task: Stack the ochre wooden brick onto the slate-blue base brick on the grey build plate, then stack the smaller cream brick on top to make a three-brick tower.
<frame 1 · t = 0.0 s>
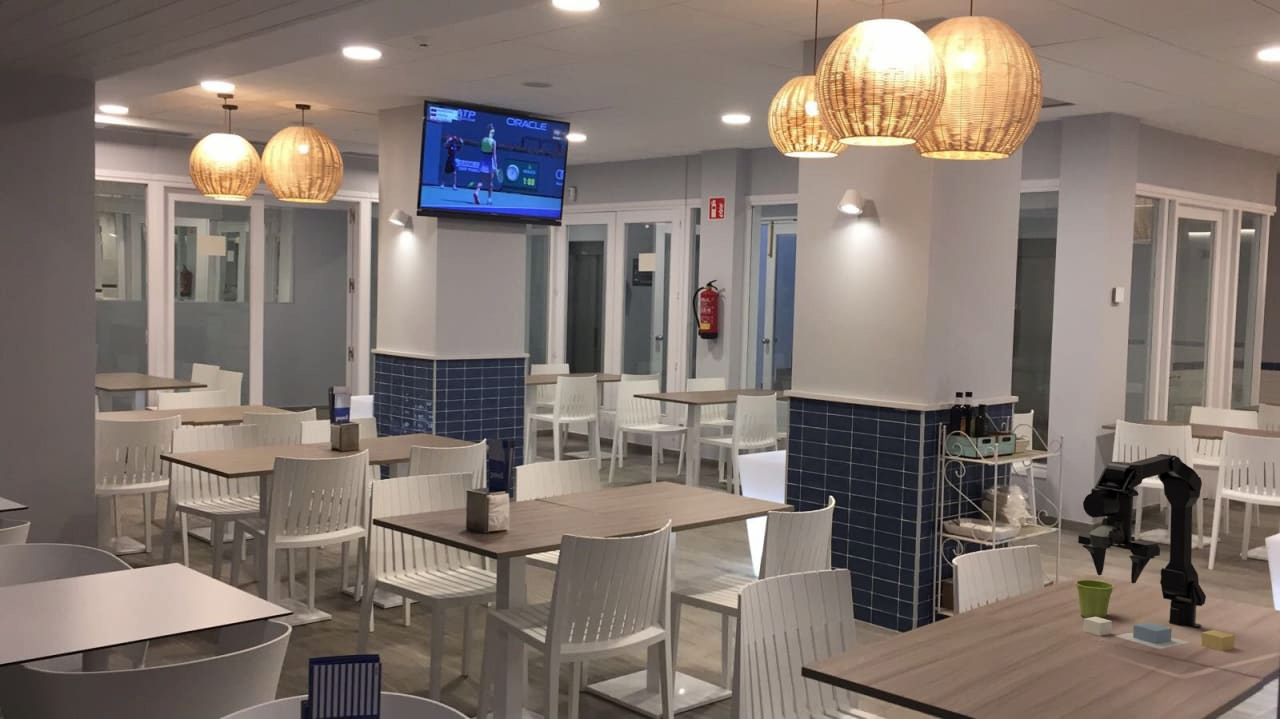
hand: (1116, 579, 275), 15 cm above the table, tool pointing down, fingers open, 9 cm apart
brick cream: (1097, 636, 278), on the table
build plate: (1151, 642, 274), on the table
plant pot: (1093, 617, 297), on the table
base brick: (1152, 639, 274), point 1 cm above the table, touching build plate
brick ochre: (1217, 650, 269), on the table
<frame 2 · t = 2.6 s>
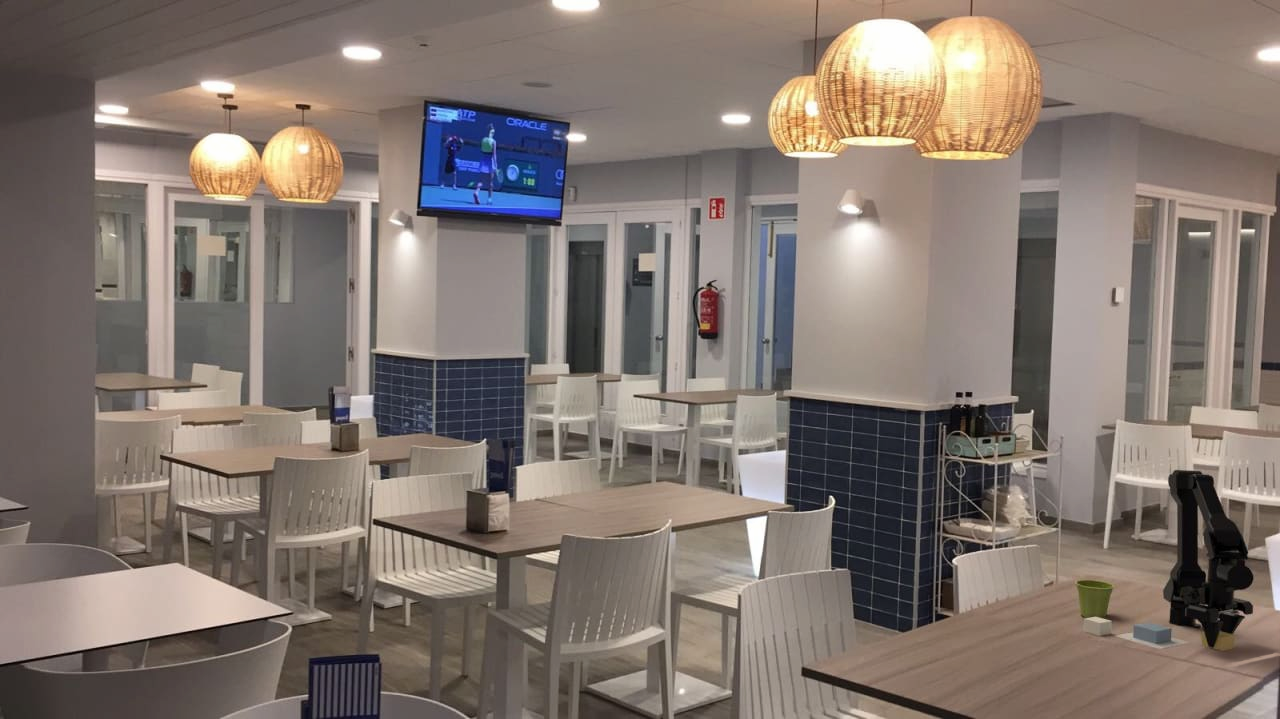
hand: (1217, 645, 269), 1 cm above the table, tool pointing down, fingers closed on brick ochre, 5 cm apart
brick ochre: (1217, 650, 269), on the table, touching gripper
everything else where it was.
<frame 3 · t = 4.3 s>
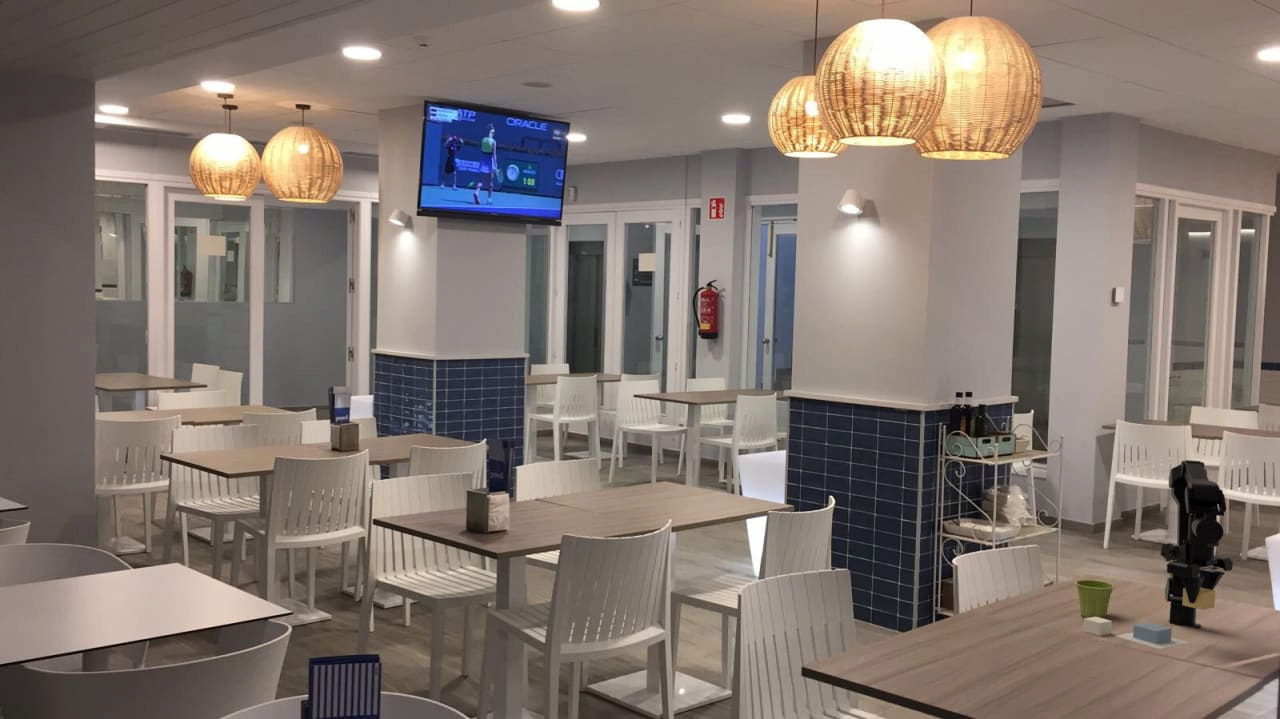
hand: (1198, 601, 270), 11 cm above the table, tool pointing down, fingers closed on brick ochre, 5 cm apart
brick ochre: (1198, 606, 270), point 10 cm above the table, touching gripper
everything else where it was.
when the fingers open (6 cm above the table, at t = 6.0 s): brick ochre drops 1 cm, resting on base brick.
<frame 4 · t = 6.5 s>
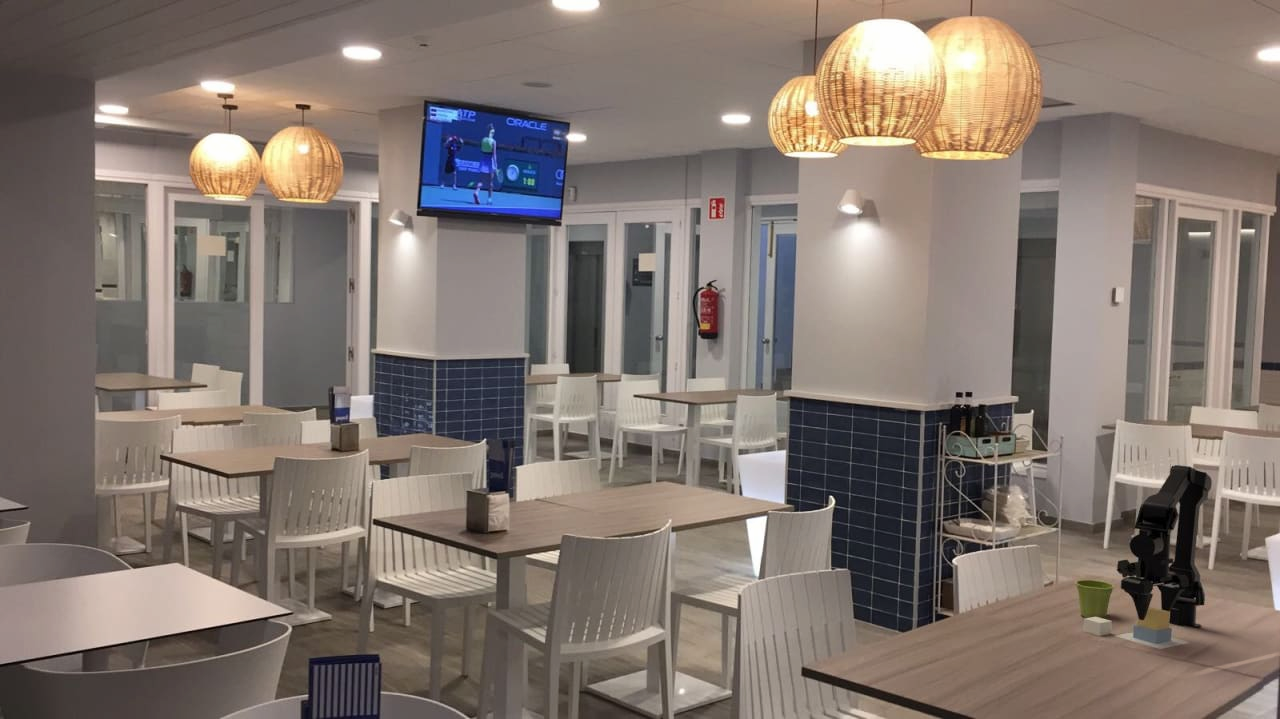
hand: (1153, 617, 274), 6 cm above the table, tool pointing down, fingers open, 9 cm apart
base brick: (1152, 639, 274), point 1 cm above the table, touching brick ochre, build plate
brick ochre: (1153, 626, 274), point 4 cm above the table, touching base brick
everything else where it was.
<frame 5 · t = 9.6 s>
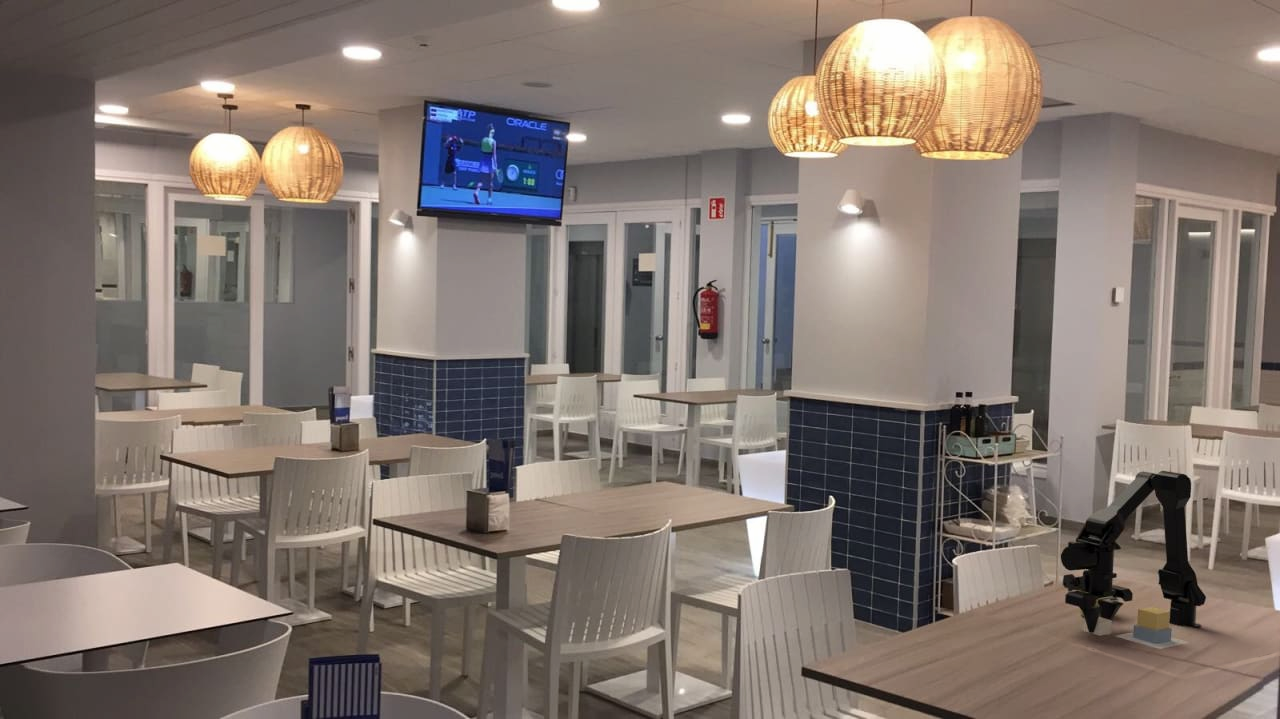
hand: (1097, 631, 278), 1 cm above the table, tool pointing down, fingers closed on brick cream, 4 cm apart
brick cream: (1097, 635, 278), on the table, touching gripper
everything else where it was.
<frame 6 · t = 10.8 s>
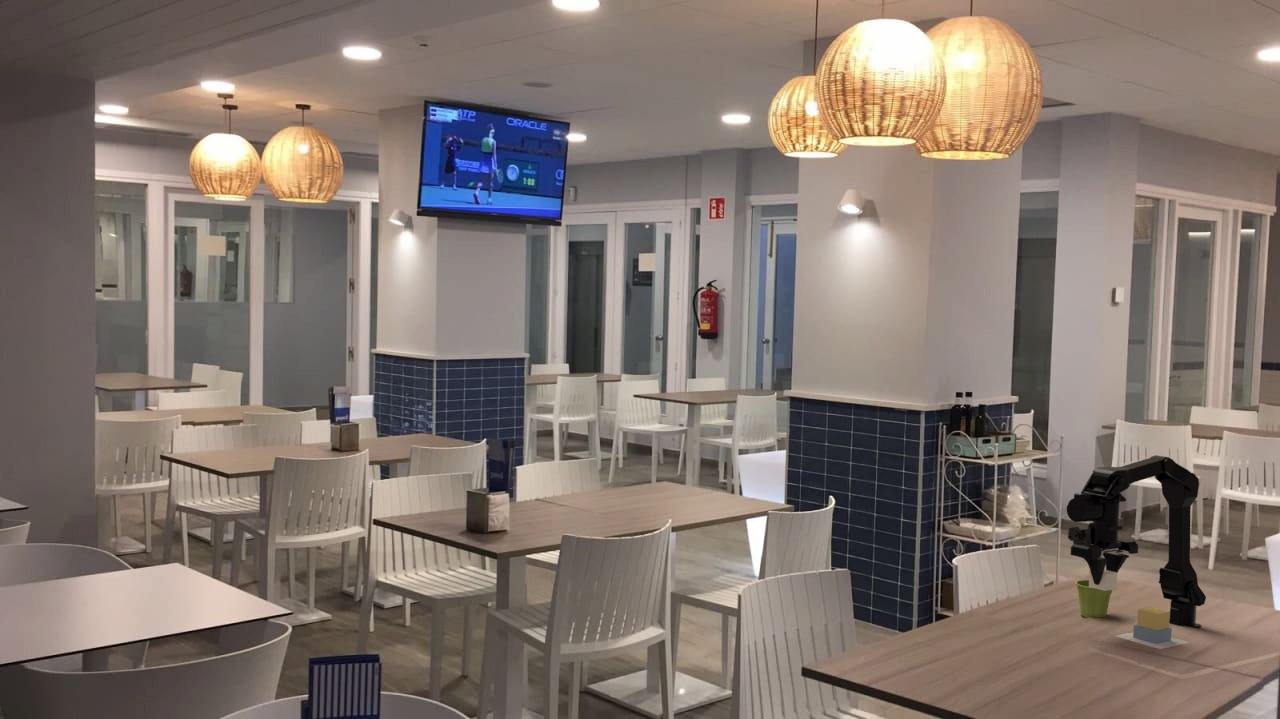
hand: (1103, 583, 278), 13 cm above the table, tool pointing down, fingers closed on brick cream, 4 cm apart
brick cream: (1102, 587, 278), point 12 cm above the table, touching gripper
everything else where it was.
when the fingers open (10 cm above the table, at t = 12.5 s): brick cream drops 1 cm, resting on brick ochre.
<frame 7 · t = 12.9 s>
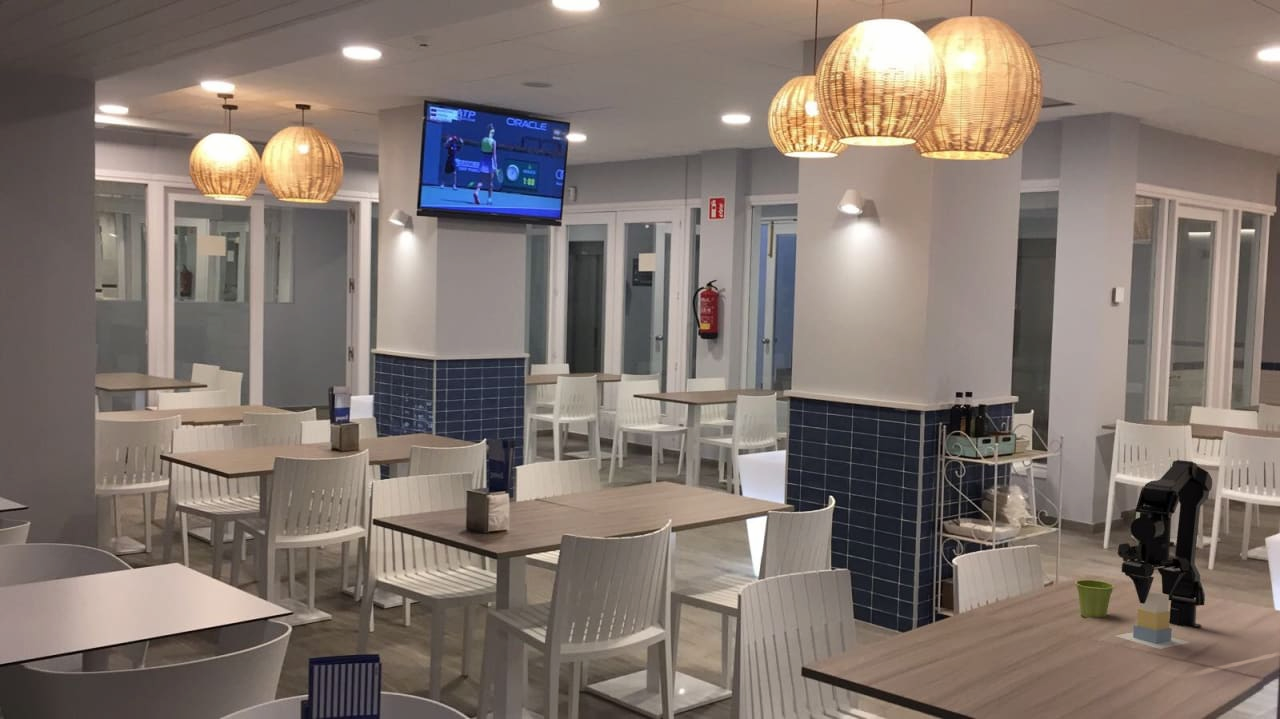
hand: (1153, 601, 273), 10 cm above the table, tool pointing down, fingers open, 9 cm apart
brick cream: (1153, 610, 273), point 8 cm above the table, touching brick ochre
brick ochre: (1153, 626, 274), point 4 cm above the table, touching base brick, brick cream
everything else where it was.
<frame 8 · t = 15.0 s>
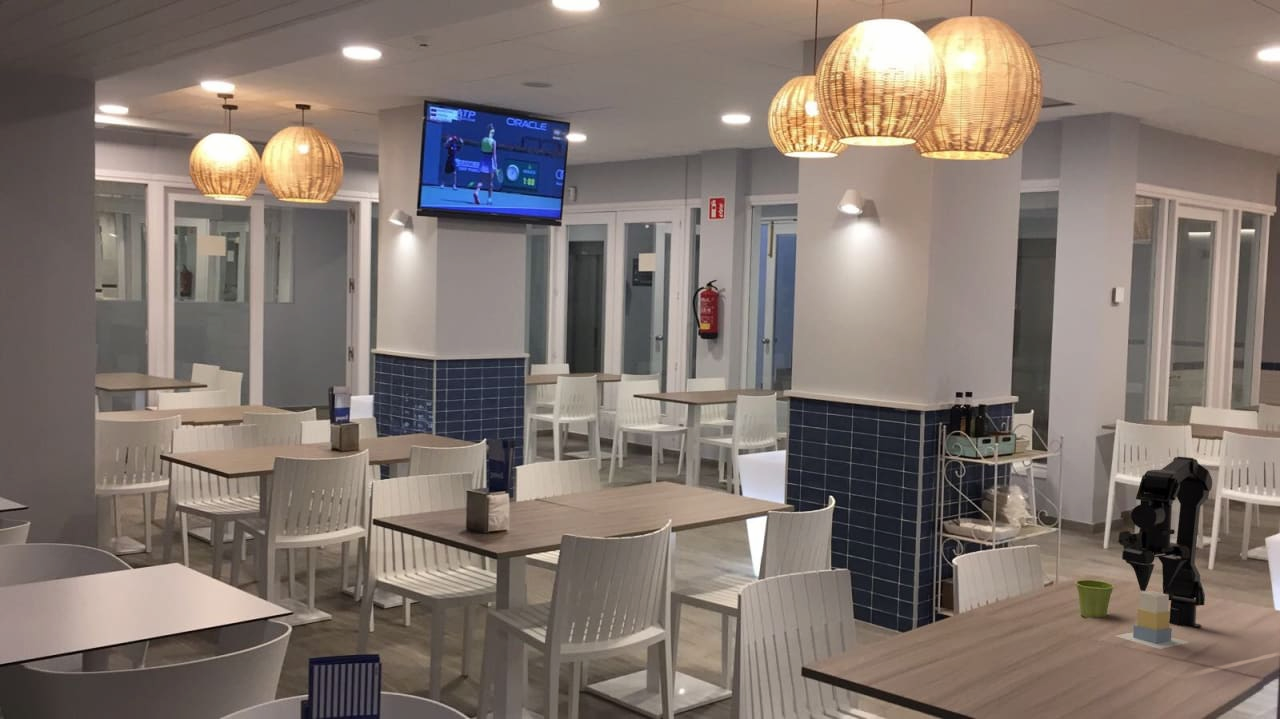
hand: (1154, 588, 273), 13 cm above the table, tool pointing down, fingers open, 9 cm apart
nothing on the table moved.
at the end: brick ochre 0.1 cm off-centre on the base brick, point 3.0 cm above the base brick's base; brick cream 0.1 cm off-centre on the brick ochre, point 4.0 cm above the brick ochre's base; brick cream point 7.8 cm above the table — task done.
